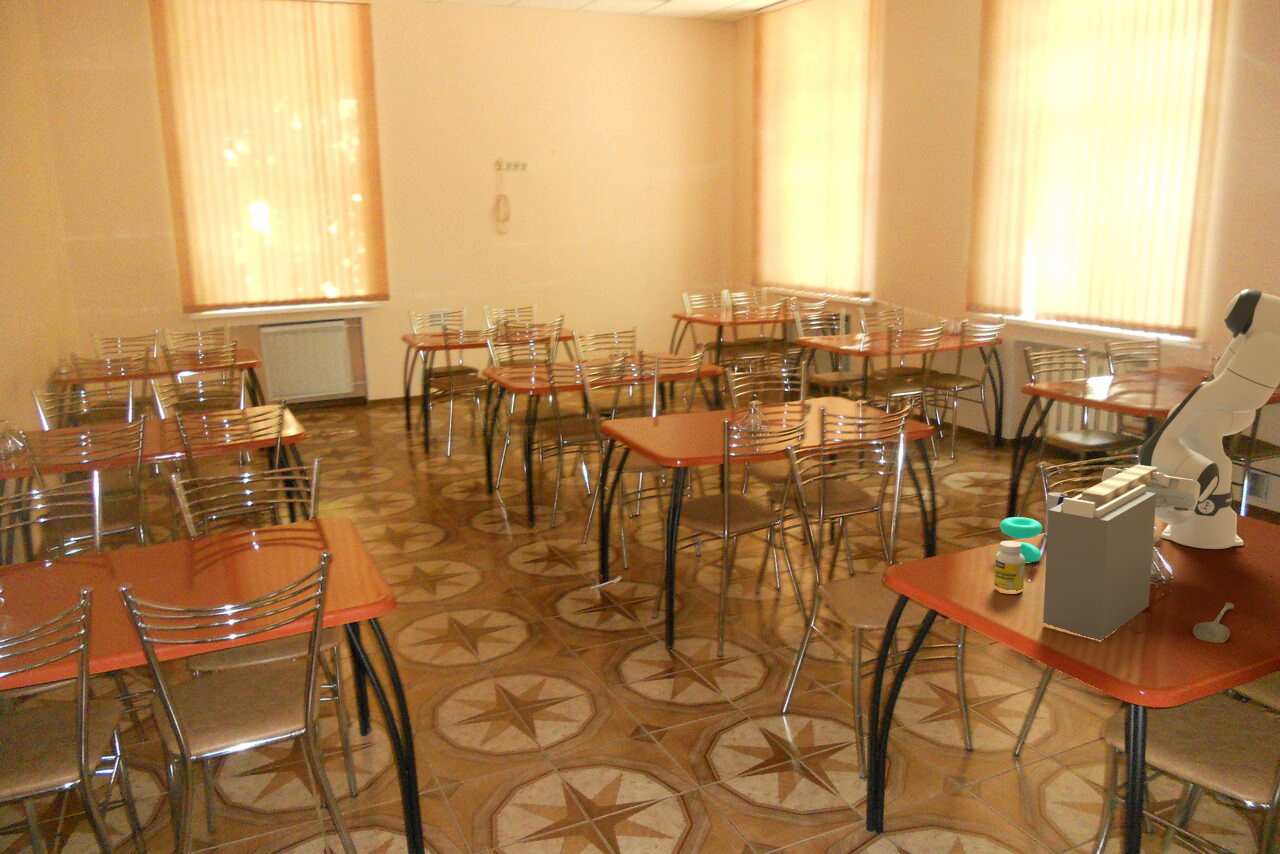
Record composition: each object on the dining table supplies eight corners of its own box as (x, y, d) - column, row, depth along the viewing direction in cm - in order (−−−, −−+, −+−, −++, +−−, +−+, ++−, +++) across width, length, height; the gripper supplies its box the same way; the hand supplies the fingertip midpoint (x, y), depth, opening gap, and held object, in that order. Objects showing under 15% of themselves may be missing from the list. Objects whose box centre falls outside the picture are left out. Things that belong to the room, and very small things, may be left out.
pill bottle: (987, 589, 229) (989, 542, 227) (1007, 583, 232) (1009, 537, 230) (1009, 598, 224) (1011, 549, 221) (1029, 592, 227) (1031, 544, 224)
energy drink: (1068, 539, 262) (1070, 496, 259) (1047, 539, 263) (1049, 496, 261) (1063, 533, 267) (1066, 491, 265) (1043, 533, 268) (1045, 491, 266)
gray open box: (1093, 593, 225) (1100, 471, 219) (1148, 606, 216) (1157, 479, 210) (1043, 627, 207) (1049, 496, 201) (1100, 642, 199) (1108, 506, 193)
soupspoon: (1188, 642, 200) (1224, 651, 195) (1189, 627, 199) (1226, 636, 195) (1212, 605, 216) (1246, 613, 211) (1214, 591, 215) (1248, 599, 211)
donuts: (1049, 521, 246) (1029, 529, 240) (1048, 558, 248) (1027, 568, 242) (1013, 513, 254) (992, 521, 248) (1011, 549, 256) (991, 559, 250)
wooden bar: (1136, 477, 224) (1137, 464, 223) (1156, 480, 221) (1157, 467, 220) (1081, 505, 204) (1081, 492, 203) (1102, 509, 201) (1103, 495, 200)
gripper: (1115, 472, 237) (1096, 454, 228) (1208, 486, 222) (1192, 467, 213) (1109, 497, 236) (1090, 479, 227) (1201, 512, 221) (1185, 494, 212)
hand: (1140, 473), depth 220 cm, fingers open, 5 cm apart
